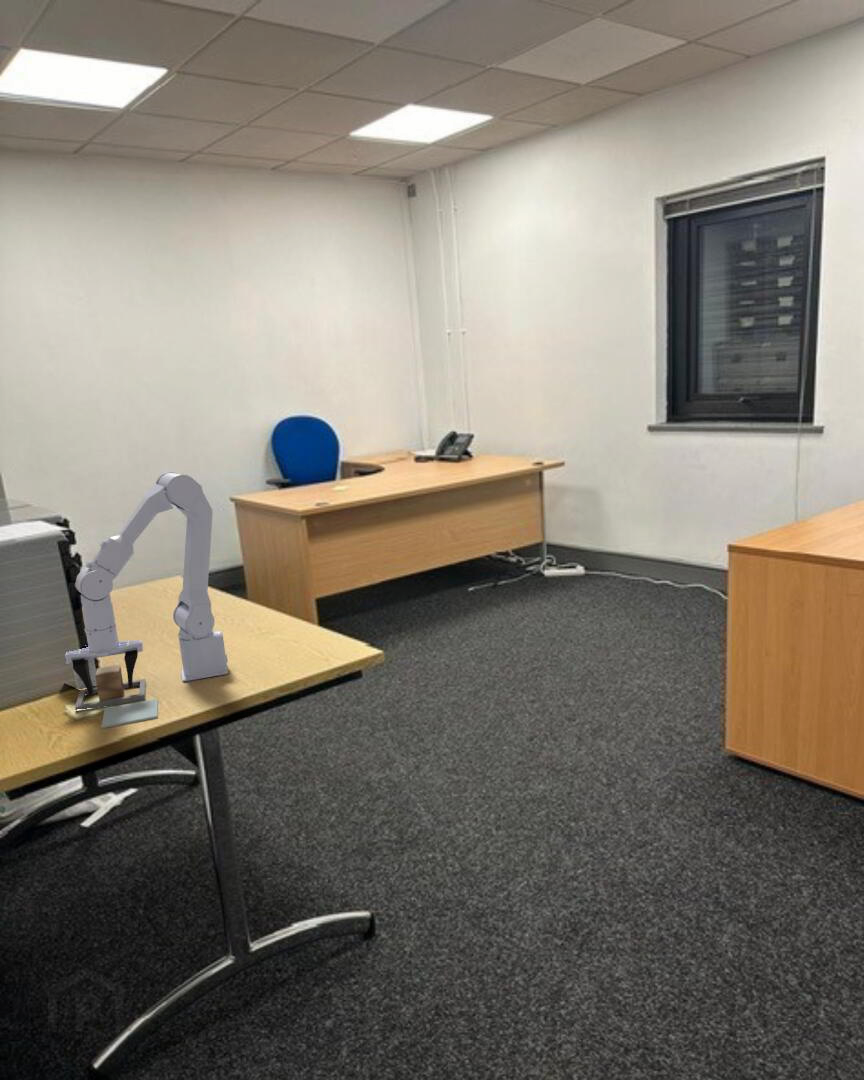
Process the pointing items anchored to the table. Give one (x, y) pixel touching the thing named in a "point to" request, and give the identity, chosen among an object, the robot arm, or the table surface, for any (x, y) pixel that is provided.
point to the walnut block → (109, 682)
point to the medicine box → (92, 674)
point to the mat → (130, 713)
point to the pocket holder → (112, 701)
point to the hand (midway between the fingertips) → (111, 689)
